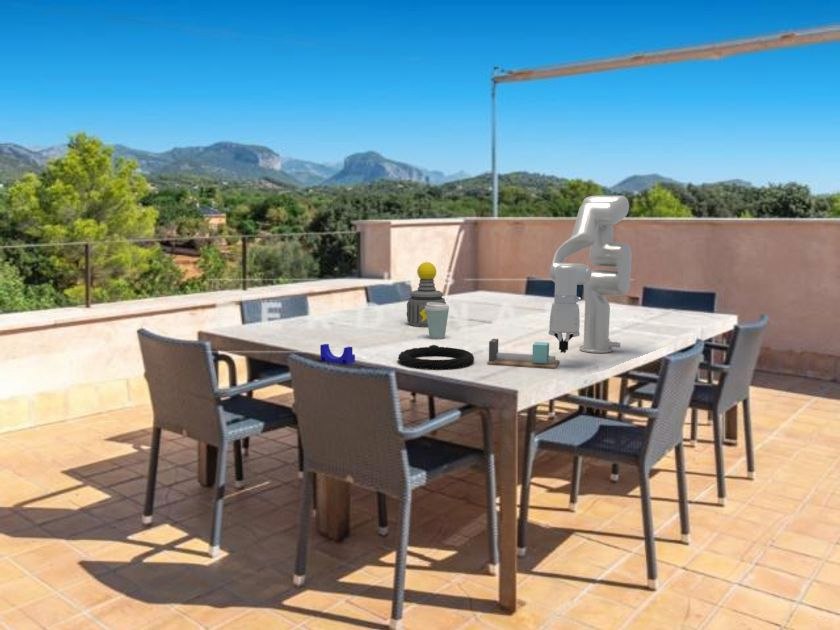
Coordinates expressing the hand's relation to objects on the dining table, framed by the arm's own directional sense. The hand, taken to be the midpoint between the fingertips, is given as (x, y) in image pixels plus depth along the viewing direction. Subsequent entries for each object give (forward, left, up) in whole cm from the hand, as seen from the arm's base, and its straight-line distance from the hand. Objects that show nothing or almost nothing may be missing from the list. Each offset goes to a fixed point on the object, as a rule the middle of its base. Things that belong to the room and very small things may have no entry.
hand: (563, 352), depth 259 cm
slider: (+8, 0, -4) cm, 9 cm away
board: (+14, 0, -5) cm, 15 cm away
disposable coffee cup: (+58, -42, -5) cm, 72 cm away
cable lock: (+45, +6, -6) cm, 46 cm away
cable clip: (+78, +17, -6) cm, 81 cm away
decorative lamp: (+73, -77, -5) cm, 106 cm away
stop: (+25, 0, -5) cm, 25 cm away
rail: (+14, 0, -5) cm, 15 cm away
